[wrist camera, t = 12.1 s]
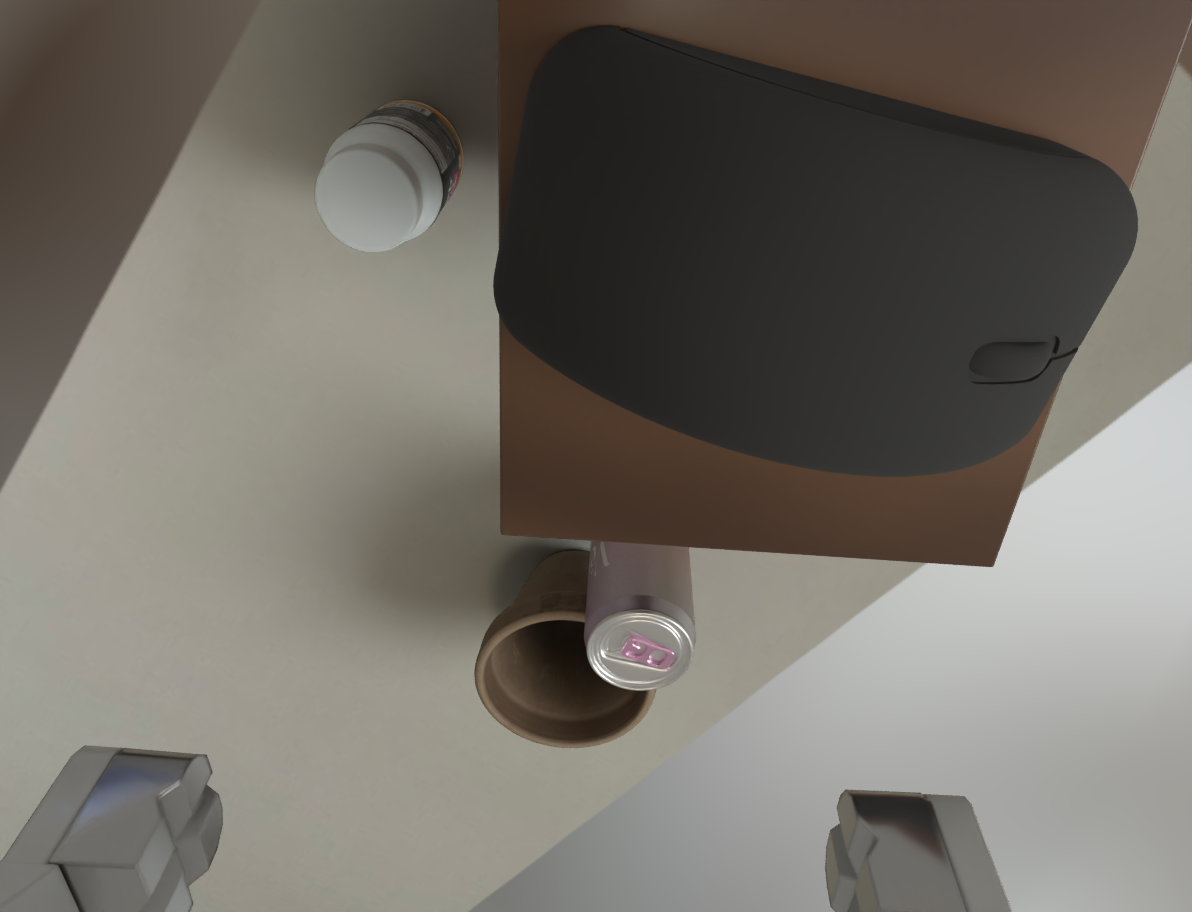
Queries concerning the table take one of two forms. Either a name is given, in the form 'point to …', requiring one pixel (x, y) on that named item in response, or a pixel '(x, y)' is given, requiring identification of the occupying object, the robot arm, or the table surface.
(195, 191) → the table surface
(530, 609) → the flower pot
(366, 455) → the table surface
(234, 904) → the table surface
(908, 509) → the shelf
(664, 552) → the beverage can
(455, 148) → the pill bottle
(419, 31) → the table surface
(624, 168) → the computer mouse
